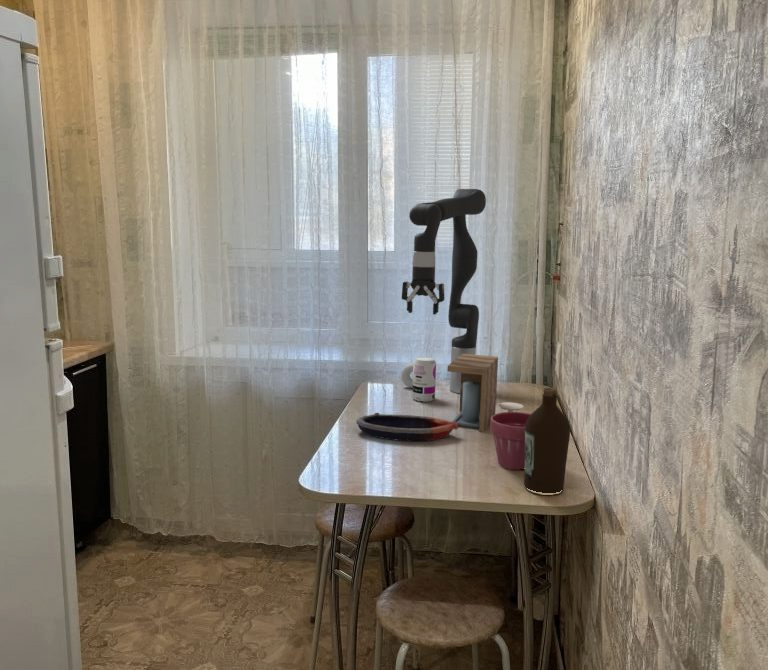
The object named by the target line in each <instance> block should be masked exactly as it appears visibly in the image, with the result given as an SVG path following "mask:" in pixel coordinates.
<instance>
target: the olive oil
mask: <svg viewBox="0 0 768 670" xmlns="http://www.w3.org/2000/svg"><path fill="white" fill-rule="evenodd" d="M542 392H543V394H542V403H541V405H540V406H538V407H537V408H536V409H534V411H533V412H532V413H530V414H531V415H530V416H529V417H528V419H527V422H526V425H525V470H524V476H523V477H524V478H523V479H524V480H523V481H524V483H523V486H524V485H525V487H526V488H528V489H530V490H533V491H536V492H542V493H556V492H560V491H561V490H563V491H564V489H565V488H564V486H565V479H566V478H565V476H566V470H567V469H566V468H567V467H566V466H567V461H568V460H567V459H568V452H569V444H570V437H571V425H570V422H569V419H568V418H567V416H566V415H565V414H564V413H563V412H562V411H561V409H560V408H559V407H558V405H557V401H558V395H557V394H558V390H557V389H555V388H550V387H546V388H543V391H542ZM525 487H524V488H525Z"/></svg>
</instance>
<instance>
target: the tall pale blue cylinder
mask: <svg viewBox="0 0 768 670" xmlns="http://www.w3.org/2000/svg"><path fill="white" fill-rule="evenodd" d="M480 389H481V384H480V383H478V382H464V383H463V399H462V420H463V421H466V422H477V421H479V409H480Z"/></svg>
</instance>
